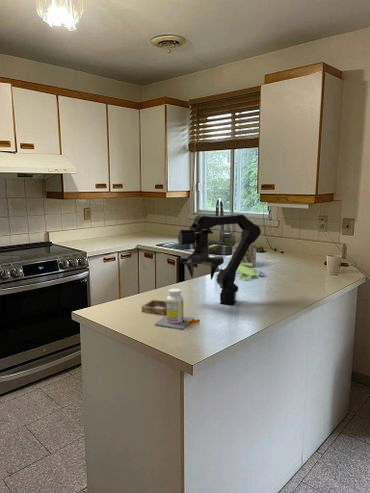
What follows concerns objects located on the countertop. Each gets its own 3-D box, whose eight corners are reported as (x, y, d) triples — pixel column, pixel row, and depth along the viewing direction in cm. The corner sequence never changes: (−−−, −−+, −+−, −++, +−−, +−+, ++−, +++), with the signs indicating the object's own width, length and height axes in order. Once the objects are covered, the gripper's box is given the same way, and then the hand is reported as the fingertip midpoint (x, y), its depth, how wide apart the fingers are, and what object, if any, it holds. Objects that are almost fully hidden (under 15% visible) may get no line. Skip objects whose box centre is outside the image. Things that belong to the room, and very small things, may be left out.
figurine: (247, 269, 244) (248, 260, 243) (270, 278, 219) (270, 269, 218) (222, 271, 238) (222, 262, 237) (242, 281, 213) (242, 272, 212)
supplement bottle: (178, 316, 155) (178, 286, 153) (186, 321, 149) (186, 290, 147) (163, 319, 152) (163, 289, 149) (171, 325, 146) (171, 293, 144)
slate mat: (194, 319, 154) (194, 318, 154) (182, 329, 143) (182, 328, 143) (167, 315, 158) (167, 314, 158) (154, 325, 147) (154, 324, 147)
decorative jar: (231, 265, 252) (231, 239, 249) (245, 264, 257) (246, 238, 254) (241, 269, 242) (242, 241, 239) (256, 267, 247) (257, 240, 244)
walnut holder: (174, 307, 168) (174, 302, 168) (163, 315, 159) (163, 309, 158) (153, 304, 172) (152, 299, 172) (141, 312, 163) (141, 306, 162)
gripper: (175, 245, 162) (175, 280, 164) (216, 248, 155) (215, 284, 157) (185, 241, 172) (185, 274, 174) (224, 244, 165) (223, 278, 167)
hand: (201, 278), depth 168 cm, fingers open, 9 cm apart
